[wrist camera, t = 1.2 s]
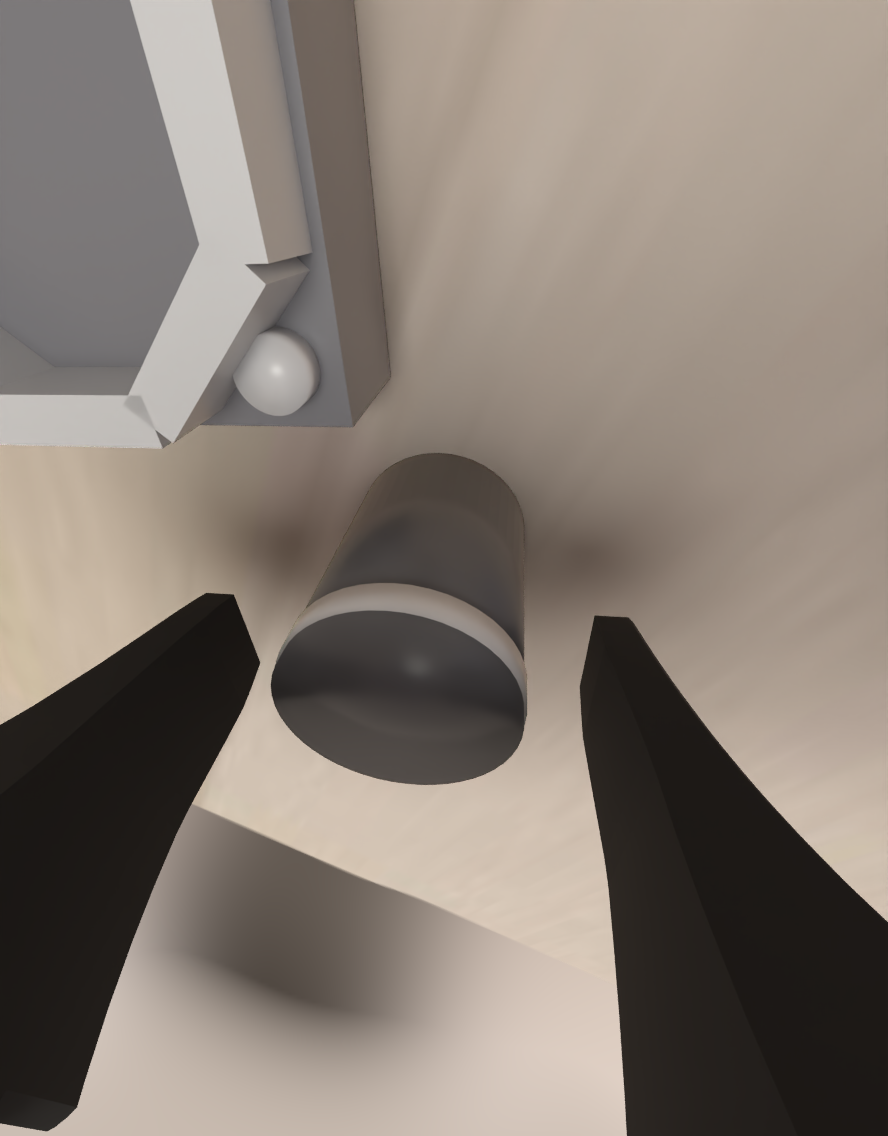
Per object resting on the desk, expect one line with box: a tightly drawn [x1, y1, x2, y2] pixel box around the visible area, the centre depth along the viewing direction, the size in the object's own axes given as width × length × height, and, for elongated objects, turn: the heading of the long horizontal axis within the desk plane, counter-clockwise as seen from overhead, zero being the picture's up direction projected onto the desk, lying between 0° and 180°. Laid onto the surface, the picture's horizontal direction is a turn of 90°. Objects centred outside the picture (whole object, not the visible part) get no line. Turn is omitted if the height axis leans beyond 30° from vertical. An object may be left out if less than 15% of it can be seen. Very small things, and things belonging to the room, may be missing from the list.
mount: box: [0, 0, 391, 448], centre depth 7 cm, size 8×8×4 cm
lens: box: [271, 453, 527, 785], centre depth 11 cm, size 4×4×6 cm
